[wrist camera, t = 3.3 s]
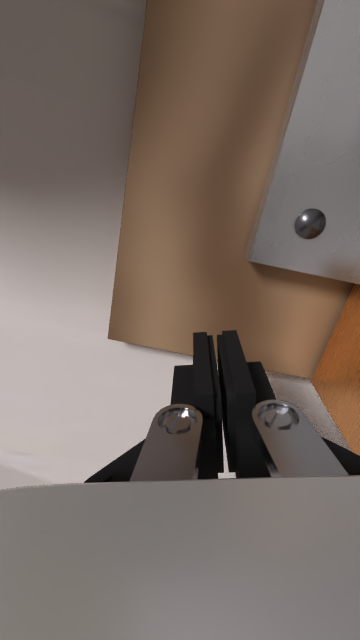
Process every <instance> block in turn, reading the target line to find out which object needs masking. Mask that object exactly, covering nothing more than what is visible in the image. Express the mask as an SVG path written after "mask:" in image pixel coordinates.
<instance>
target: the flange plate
mask: <svg viewBox="0 0 360 640" xmlns="http://www.w3.org/2000/svg"><path fill="white" fill-rule="evenodd" d="M245 257H246V258H247V259H248V261H251V262H255V263H260V264H265V265H270V266H274V267H279V268H284V269H289V270H293V271H298V272H303V273H308V274H312V275H317V276H322V277H327V278H331V279H336V280H341V281H346V282H350V283H355V284H354V286H353V288H352V290H351V293H350V295H349V297H348V299H347V302H346V304H345V306H344V308H343V311H342V313H341V315H340V317H339V320H338V322H337V324H336V326H335V329H334V331H333V333H332V335H331V337H330V340H329V342H328V344H327V346H326V349H325V351H324V353H323V355H322V358H321V360H320V362H319V364H318V367H317V369H316V371H315V373H314V376H313V378H312V380H311V383H312V385H313V386H314V388H315V390H316V391H317V393H318V395H319V396H320V398H321V400H322V401H323V403H324V405H325V407H326V408H327V410H328V412H329V413H330V415H331V417H332V418H333V420H334V422H335V423H336V425H337V427H338V428H339V430H340V432H341V434H342V435H343V437H344V439H345V440H346V442H347V444H348V445H349V447H350V449H351V450H352V452H353V453H355V454H357V455H359V456H360V0H317V3H316V6H315V10H314V13H313V17H312V20H311V24H310V28H309V31H308V35H307V38H306V42H305V45H304V49H303V52H302V56H301V59H300V63H299V66H298V70H297V73H296V77H295V80H294V84H293V87H292V91H291V94H290V98H289V101H288V105H287V108H286V112H285V115H284V119H283V122H282V126H281V129H280V133H279V136H278V140H277V144H276V147H275V151H274V154H273V158H272V161H271V165H270V168H269V172H268V175H267V179H266V182H265V186H264V189H263V193H262V196H261V200H260V203H259V207H258V210H257V214H256V217H255V221H254V224H253V228H252V231H251V235H250V238H249V242H248V245H247V249H246V253H245Z"/></svg>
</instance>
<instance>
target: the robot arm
mask: <svg viewBox="0 0 360 640" xmlns="http://www.w3.org/2000/svg"><path fill="white" fill-rule="evenodd" d="M217 355H218V370H217V363H216V356H215V349H214V342H213V335H207V332H194V333H193V365H181V366H175V367H174V376H173V386H172V396H171V405H169V406H166V407H164V408H162V409H161V410H160V411H159V412H157V413H156V415H155V417H154V418H153V421H152V423H151V426H150V429H149V431H148V434H147V437H146V439H144V440H143V441H141V442H140V443H139V444H137V445H136V446H134V447H133V448H131V449H130V450H129V451H127V452H126V453H124V454H123V455H121V456H120V457H118V458H117V459H116V460H114V461H113V462H111V463H110V464H108V465H107V466H105V467H104V468H103V469H101V470H100V471H98V472H97V473H95V474H94V475H93V476H91V477H90V478H89V479H87V480H86V481H85V482H84V483H71V484H54V485H39V486H24V487H16V488H9V489H2V490H0V640H360V456H359V455H357V454H355V453H353V452H351V451H349V450H347V449H345V448H343V447H341V446H339V445H337V444H335V443H333V442H331V441H329V440H327V439H325V438H323V437H321V436H320V435H319V434H318V432H317V431H316V430H315V428H314V427H313V426H312V424H311V423H310V421H309V420H308V419H307V417H306V416H305V415H304V413H303V412H302V411H301V410H300V409H299V408H298V407H297V406H295V405H293V404H291V403H289V402H286V401H282V400H276V398H275V395H274V393H273V390H272V388H271V385H270V383H269V380H268V378H267V375H266V373H265V370H264V368H263V365H262V363H261V362H260V361H258V362H246V359H245V356H244V353H243V349H242V346H241V343H240V340H239V337H238V334H237V331H236V330H228V331H222V335H217ZM222 423H223V430H224V438H225V446H226V453H227V461H228V469H229V472H235V473H236V478H225V479H218V473H224V463H223V436H222Z"/></svg>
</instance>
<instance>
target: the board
mask: <svg viewBox="0 0 360 640" xmlns="http://www.w3.org/2000/svg"><path fill="white" fill-rule="evenodd" d="M316 3H317V0H147V7H146V15H145V24H144V33H143V41H142V50H141V58H140V67H139V75H138V84H137V92H136V101H135V110H134V118H133V127H132V135H131V144H130V152H129V161H128V169H127V178H126V187H125V195H124V204H123V212H122V221H121V229H120V238H119V246H118V255H117V264H116V272H115V281H114V289H113V298H112V306H111V315H110V323H109V332H108V339H111V340H117V341H122V342H127V343H132V344H137V345H142V346H147V347H152V348H157V349H162V350H167V351H172V352H177V353H182V354H187V355H192V356H193V333H194V332H207V335H213V342H214V349H215V356H216V360H217V361H218V355H217V335H222V331H228V330H236V331H237V334H238V337H239V340H240V343H241V346H242V349H243V353H244V356H245V359H246V362H258V361H260V362H261V363H262V365H263V368H264V370H268V371H273V372H278V373H283V374H288V375H293V376H298V377H303V378H308V379H312V378H313V376H314V373H315V371H316V369H317V367H318V364H319V362H320V360H321V358H322V355H323V353H324V351H325V349H326V346H327V344H328V342H329V340H330V337H331V335H332V333H333V331H334V329H335V326H336V324H337V322H338V320H339V317H340V315H341V313H342V311H343V308H344V306H345V304H346V302H347V299H348V297H349V295H350V293H351V290H352V288H353V286H354V284H355V283H350V282H346V281H341V280H336V279H331V278H327V277H322V276H317V275H312V274H308V273H303V272H298V271H293V270H289V269H284V268H279V267H274V266H270V265H265V264H260V263H255V262H251V261H248V259H247V258H246V257H245V253H246V249H247V245H248V242H249V238H250V235H251V231H252V228H253V224H254V221H255V217H256V214H257V210H258V207H259V203H260V200H261V196H262V193H263V189H264V186H265V182H266V179H267V175H268V172H269V168H270V165H271V161H272V158H273V154H274V151H275V147H276V144H277V140H278V136H279V133H280V129H281V126H282V122H283V119H284V115H285V112H286V108H287V105H288V101H289V98H290V94H291V91H292V87H293V84H294V80H295V77H296V73H297V70H298V66H299V63H300V59H301V56H302V52H303V49H304V45H305V42H306V38H307V35H308V31H309V28H310V24H311V20H312V17H313V13H314V10H315V6H316Z"/></svg>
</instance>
